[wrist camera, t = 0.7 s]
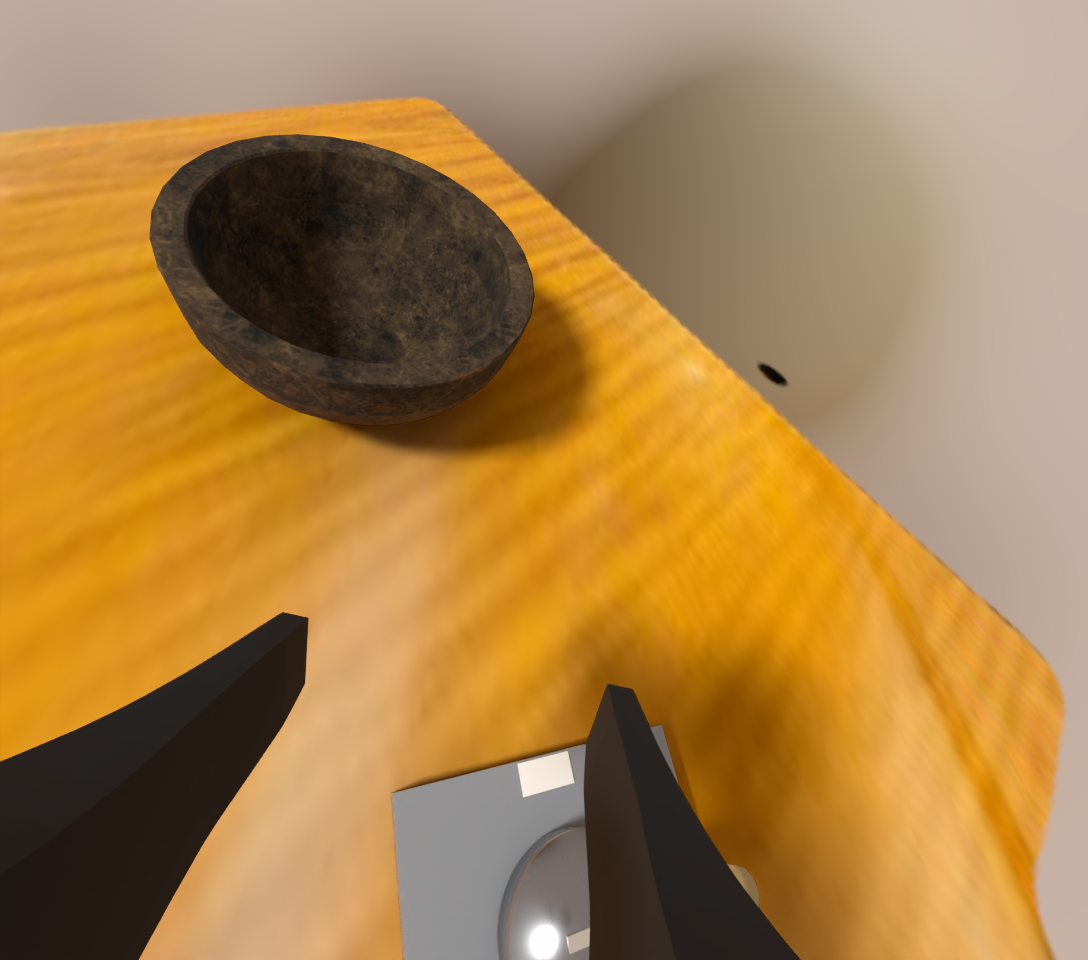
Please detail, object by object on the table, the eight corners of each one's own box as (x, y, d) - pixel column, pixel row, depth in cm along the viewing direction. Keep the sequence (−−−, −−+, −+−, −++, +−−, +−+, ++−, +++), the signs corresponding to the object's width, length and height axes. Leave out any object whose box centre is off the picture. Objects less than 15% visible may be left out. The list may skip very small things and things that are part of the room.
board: (738, 1042, 27) (788, 1073, 24) (422, 1228, 20) (437, 1301, 17) (650, 726, 33) (681, 720, 30) (391, 792, 27) (398, 793, 24)
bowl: (115, 406, 32) (40, 275, 24) (283, 220, 44) (272, 92, 36) (453, 523, 36) (488, 444, 27) (521, 322, 48) (560, 226, 40)
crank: (515, 1077, 22) (552, 1135, 18) (484, 852, 25) (510, 863, 22) (727, 968, 27) (792, 997, 23) (677, 790, 30) (726, 791, 26)
